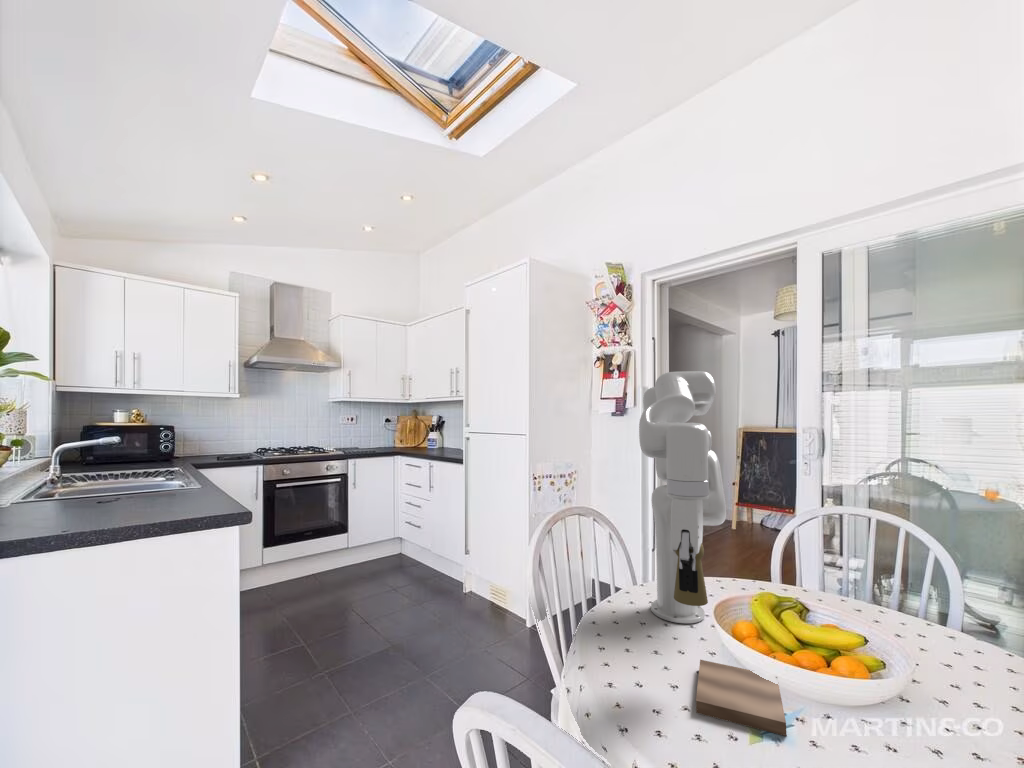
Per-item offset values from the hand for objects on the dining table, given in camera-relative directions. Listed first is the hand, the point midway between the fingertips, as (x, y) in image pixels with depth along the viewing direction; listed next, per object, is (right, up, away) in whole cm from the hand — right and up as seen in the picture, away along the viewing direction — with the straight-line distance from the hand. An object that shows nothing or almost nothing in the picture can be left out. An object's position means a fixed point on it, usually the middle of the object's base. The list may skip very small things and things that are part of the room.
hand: (690, 586), depth 86 cm
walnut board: (+6, -17, -6) cm, 19 cm away
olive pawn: (0, -3, 0) cm, 3 cm away
